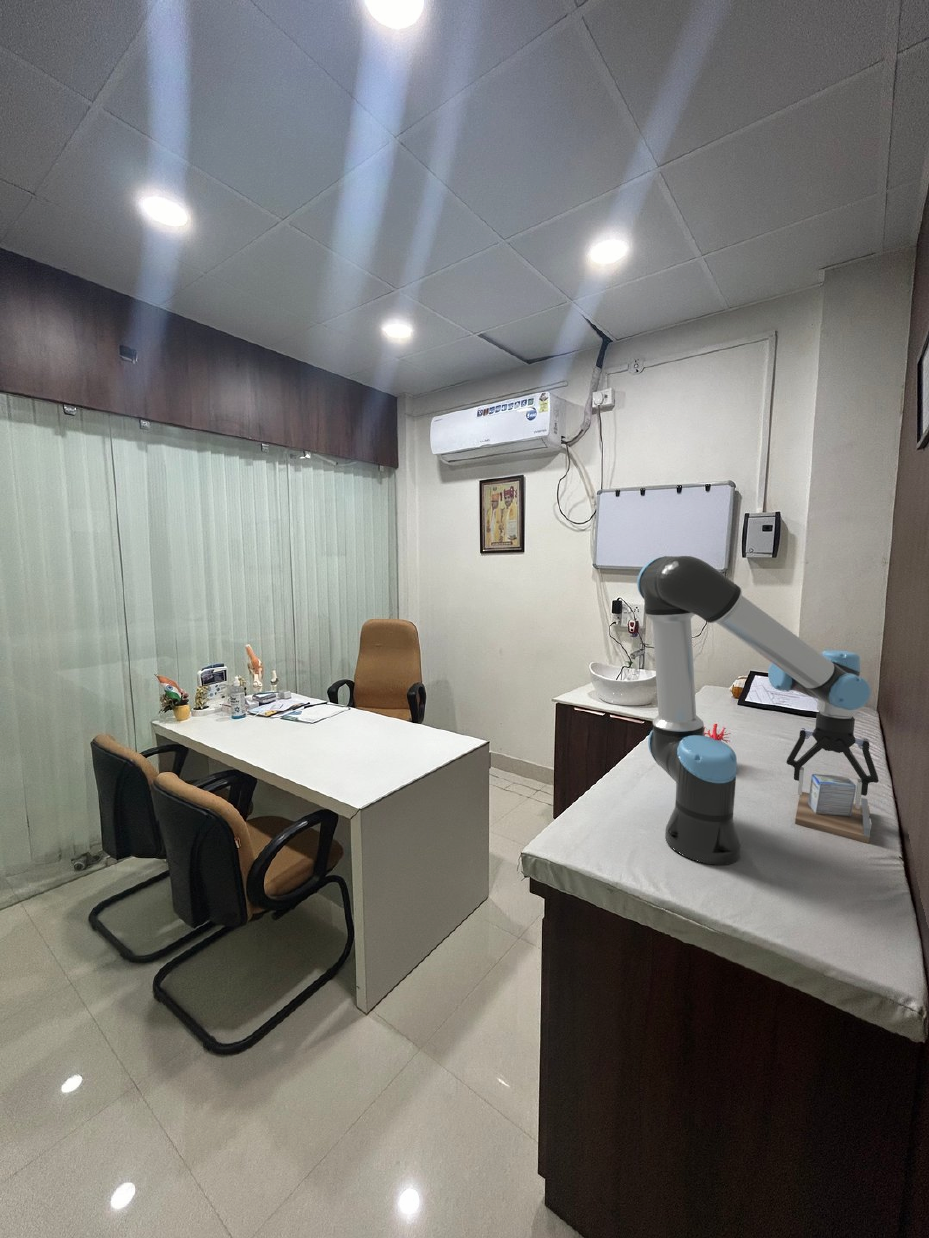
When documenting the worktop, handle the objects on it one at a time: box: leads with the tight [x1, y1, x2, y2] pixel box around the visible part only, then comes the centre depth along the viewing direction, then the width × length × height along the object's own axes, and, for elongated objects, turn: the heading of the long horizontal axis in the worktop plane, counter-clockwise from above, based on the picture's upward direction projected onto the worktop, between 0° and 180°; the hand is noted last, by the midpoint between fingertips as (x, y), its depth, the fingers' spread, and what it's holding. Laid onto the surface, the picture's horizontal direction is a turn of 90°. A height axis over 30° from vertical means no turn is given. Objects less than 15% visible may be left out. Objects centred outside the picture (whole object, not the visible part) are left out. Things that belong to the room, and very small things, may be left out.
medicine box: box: [808, 773, 857, 816], centre depth 123 cm, size 8×4×9 cm, turn 78°
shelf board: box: [794, 791, 872, 844], centre depth 123 cm, size 18×14×4 cm
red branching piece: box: [704, 723, 732, 744], centre depth 155 cm, size 10×12×12 cm
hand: (827, 799), depth 124 cm, fingers open, 11 cm apart
